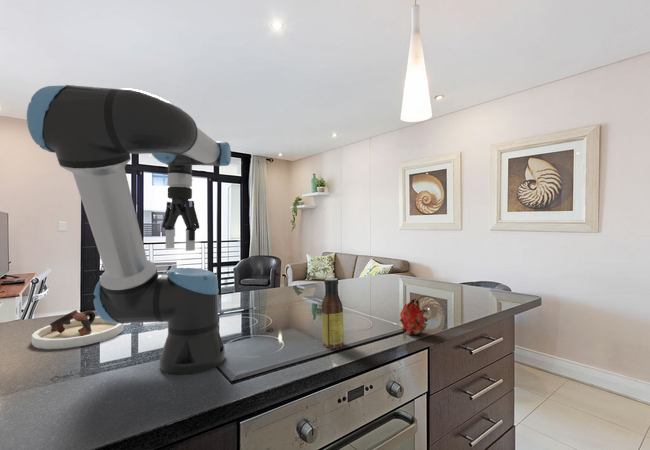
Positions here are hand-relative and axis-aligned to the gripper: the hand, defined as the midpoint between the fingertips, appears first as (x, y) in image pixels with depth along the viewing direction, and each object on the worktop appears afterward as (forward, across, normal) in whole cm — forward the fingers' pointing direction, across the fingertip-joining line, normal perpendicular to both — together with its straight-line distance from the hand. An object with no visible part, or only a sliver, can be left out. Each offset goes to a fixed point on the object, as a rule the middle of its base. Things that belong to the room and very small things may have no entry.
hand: (179, 249), depth 107 cm
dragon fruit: (+27, -66, -42) cm, 83 cm away
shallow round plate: (+27, +17, +23) cm, 39 cm away
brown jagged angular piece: (+27, +17, +22) cm, 39 cm away
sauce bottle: (+27, -51, -19) cm, 61 cm away
